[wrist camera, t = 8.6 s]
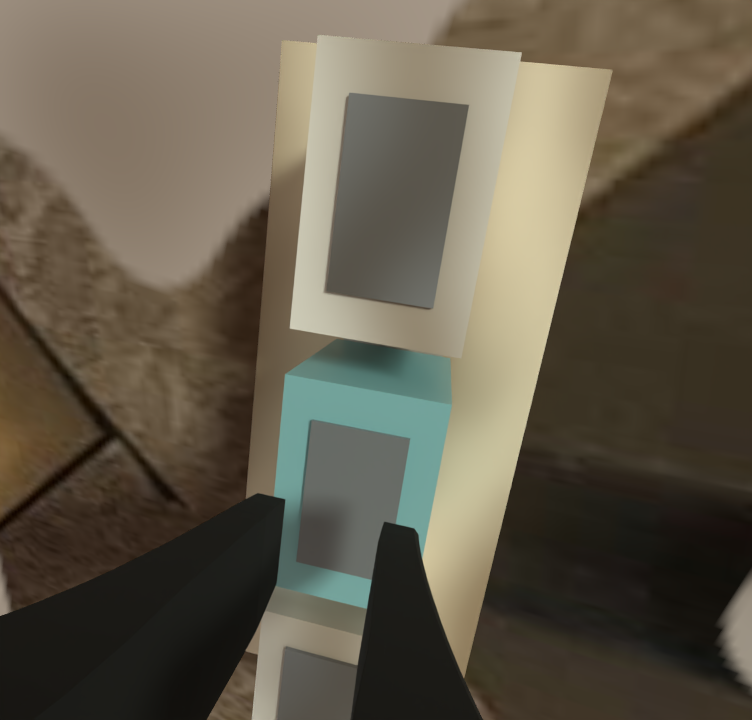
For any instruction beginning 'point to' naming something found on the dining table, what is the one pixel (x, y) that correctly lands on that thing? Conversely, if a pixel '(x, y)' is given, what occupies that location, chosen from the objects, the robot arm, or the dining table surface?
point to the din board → (414, 292)
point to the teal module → (356, 461)
